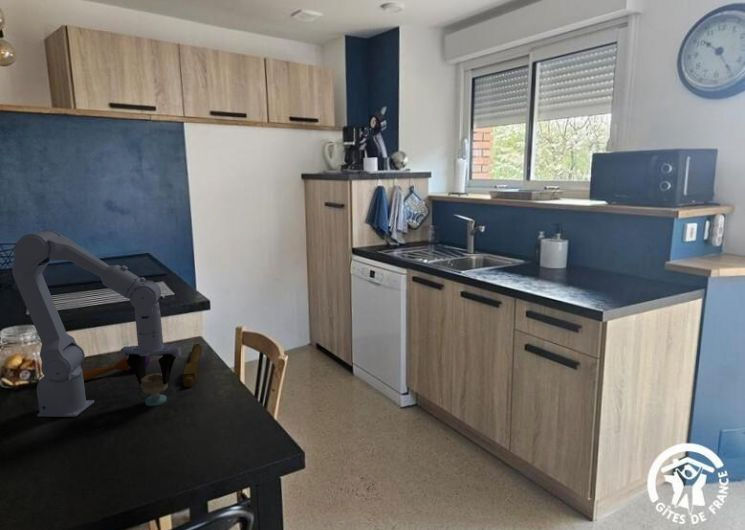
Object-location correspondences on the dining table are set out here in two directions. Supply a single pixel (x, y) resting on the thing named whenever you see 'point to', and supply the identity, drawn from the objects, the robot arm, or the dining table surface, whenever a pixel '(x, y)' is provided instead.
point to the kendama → (111, 368)
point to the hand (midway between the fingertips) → (154, 382)
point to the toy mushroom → (155, 399)
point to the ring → (153, 383)
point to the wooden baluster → (192, 366)
